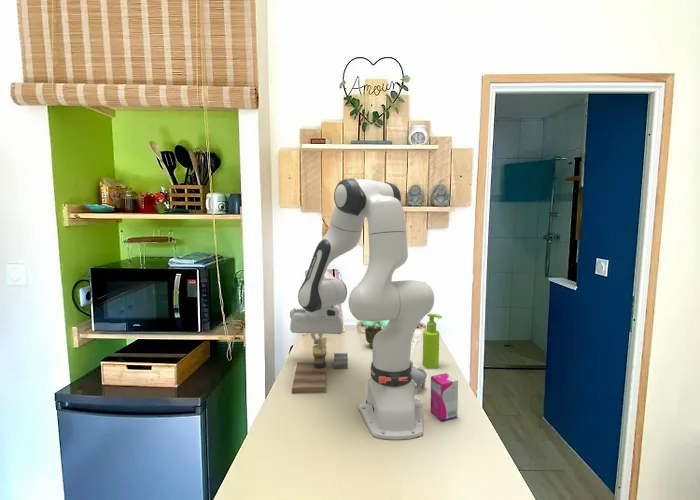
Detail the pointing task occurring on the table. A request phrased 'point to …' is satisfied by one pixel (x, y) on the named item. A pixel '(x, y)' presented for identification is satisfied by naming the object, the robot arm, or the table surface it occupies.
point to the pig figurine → (418, 376)
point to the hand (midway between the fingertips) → (316, 343)
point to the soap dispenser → (431, 344)
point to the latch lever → (320, 348)
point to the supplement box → (444, 397)
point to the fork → (415, 342)
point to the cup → (371, 334)
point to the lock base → (316, 374)
